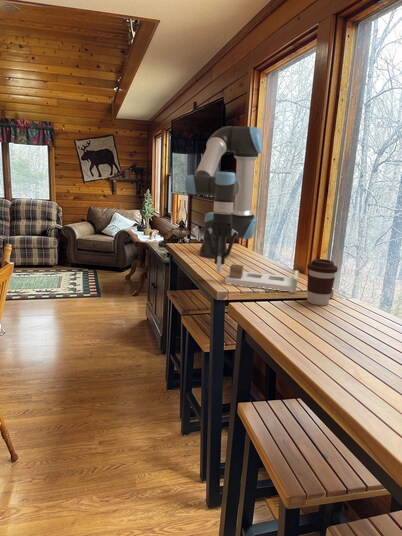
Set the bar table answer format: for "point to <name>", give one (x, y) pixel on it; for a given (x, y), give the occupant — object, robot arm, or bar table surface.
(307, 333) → the bar table surface
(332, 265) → the coffee cup
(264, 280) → the board
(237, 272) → the block
